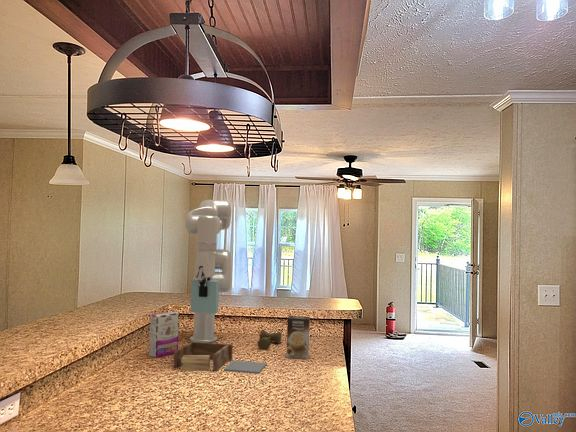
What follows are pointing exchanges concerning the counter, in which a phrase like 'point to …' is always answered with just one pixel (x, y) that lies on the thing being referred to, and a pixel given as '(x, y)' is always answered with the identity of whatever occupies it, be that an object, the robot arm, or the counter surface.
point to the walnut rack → (205, 353)
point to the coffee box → (298, 337)
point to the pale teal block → (205, 298)
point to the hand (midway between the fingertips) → (204, 295)
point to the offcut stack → (195, 363)
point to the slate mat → (245, 367)
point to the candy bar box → (164, 334)
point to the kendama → (268, 339)
